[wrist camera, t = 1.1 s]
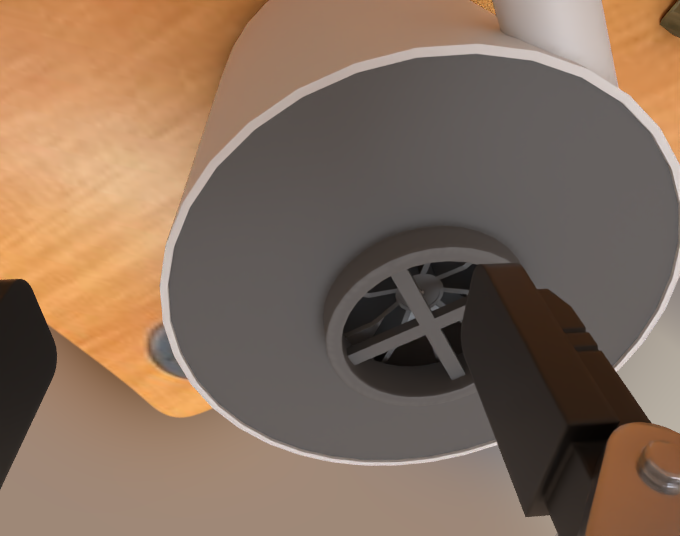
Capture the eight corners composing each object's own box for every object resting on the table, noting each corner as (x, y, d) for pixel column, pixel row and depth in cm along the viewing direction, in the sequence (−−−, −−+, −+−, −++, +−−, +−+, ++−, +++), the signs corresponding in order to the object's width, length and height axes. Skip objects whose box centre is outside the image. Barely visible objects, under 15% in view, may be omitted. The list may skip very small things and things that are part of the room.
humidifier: (151, 56, 35) (-1, 249, 16) (437, -121, 31) (683, -141, 12) (308, 274, 47) (324, 530, 28) (528, 169, 43) (723, 388, 24)
